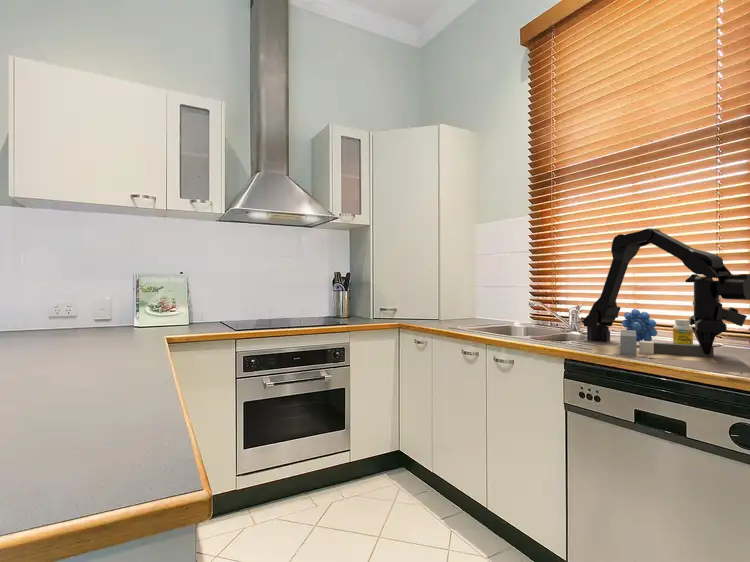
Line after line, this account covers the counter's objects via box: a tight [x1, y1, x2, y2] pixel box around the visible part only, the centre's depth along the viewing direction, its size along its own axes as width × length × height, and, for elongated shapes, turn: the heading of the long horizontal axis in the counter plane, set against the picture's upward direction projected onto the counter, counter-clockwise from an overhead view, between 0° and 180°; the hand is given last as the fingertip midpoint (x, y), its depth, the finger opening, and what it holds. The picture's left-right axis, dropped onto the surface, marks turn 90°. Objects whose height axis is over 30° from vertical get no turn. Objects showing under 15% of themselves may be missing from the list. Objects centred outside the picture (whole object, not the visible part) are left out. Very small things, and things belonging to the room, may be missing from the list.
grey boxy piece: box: [619, 329, 637, 357], centre depth 130 cm, size 4×16×6 cm, turn 149°
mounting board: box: [591, 344, 717, 364], centre depth 127 cm, size 30×18×1 cm, turn 59°
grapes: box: [621, 308, 658, 342], centre depth 155 cm, size 12×7×12 cm, turn 38°
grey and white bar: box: [636, 340, 715, 359], centre depth 124 cm, size 19×4×3 cm, turn 59°
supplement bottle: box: [672, 318, 694, 345], centre depth 141 cm, size 5×5×10 cm
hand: (706, 353), depth 120 cm, fingers closed on grey and white bar, 2 cm apart
